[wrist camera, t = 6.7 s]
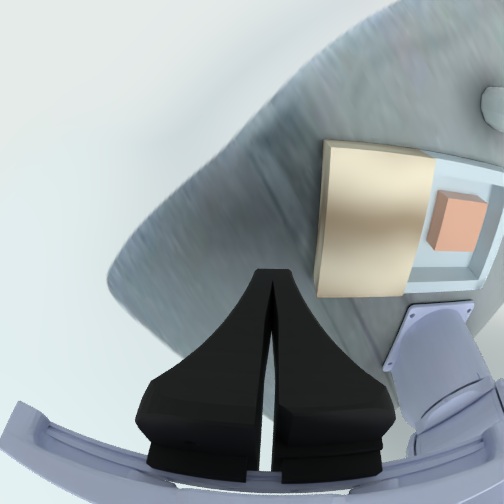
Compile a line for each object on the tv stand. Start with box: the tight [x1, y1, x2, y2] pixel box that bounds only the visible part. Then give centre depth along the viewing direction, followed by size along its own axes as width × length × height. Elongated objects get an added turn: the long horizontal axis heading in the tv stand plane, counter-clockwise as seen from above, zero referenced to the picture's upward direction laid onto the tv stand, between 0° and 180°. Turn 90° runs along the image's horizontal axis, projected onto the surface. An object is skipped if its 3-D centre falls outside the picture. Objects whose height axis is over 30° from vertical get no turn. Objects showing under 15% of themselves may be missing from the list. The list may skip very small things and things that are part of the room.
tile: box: [426, 190, 488, 252], centre depth 17 cm, size 4×4×2 cm
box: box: [404, 149, 504, 293], centre depth 17 cm, size 10×8×2 cm
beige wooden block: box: [313, 139, 436, 298], centre depth 17 cm, size 10×6×2 cm, turn 2°
